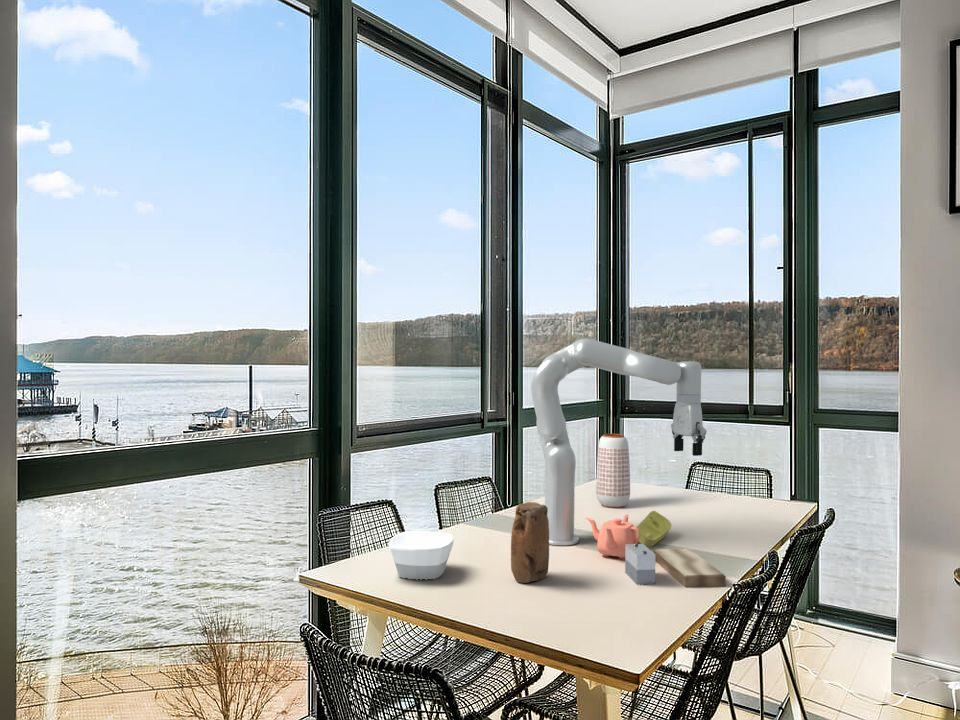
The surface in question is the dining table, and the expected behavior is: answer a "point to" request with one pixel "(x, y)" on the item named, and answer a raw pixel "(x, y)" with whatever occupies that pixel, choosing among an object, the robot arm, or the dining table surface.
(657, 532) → the plastic component
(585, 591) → the dining table surface
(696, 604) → the dining table surface
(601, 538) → the teapot
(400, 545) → the bowl
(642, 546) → the housing
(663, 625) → the dining table surface
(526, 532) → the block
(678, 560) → the walnut stand
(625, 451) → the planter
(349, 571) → the dining table surface
